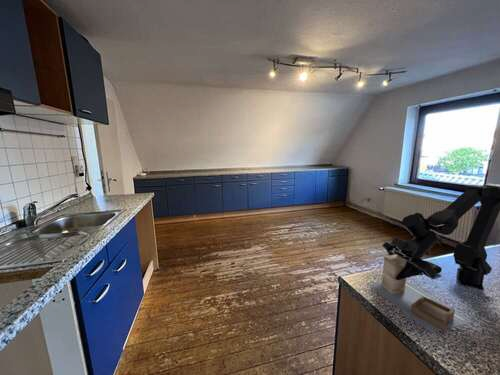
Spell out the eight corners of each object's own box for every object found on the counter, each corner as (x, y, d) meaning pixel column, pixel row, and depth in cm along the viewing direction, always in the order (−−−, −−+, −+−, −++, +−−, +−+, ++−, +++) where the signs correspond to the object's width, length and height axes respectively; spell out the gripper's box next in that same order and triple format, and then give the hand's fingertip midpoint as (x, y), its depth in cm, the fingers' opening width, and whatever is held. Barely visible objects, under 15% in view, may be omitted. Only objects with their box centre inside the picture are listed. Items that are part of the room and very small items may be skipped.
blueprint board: (401, 280, 89) (401, 277, 89) (473, 324, 66) (474, 321, 66) (367, 286, 85) (367, 283, 85) (431, 335, 62) (431, 332, 62)
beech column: (393, 284, 84) (396, 254, 82) (404, 292, 80) (407, 261, 78) (381, 285, 84) (384, 255, 82) (391, 293, 79) (394, 262, 77)
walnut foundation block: (422, 303, 74) (423, 295, 73) (453, 318, 67) (454, 310, 67) (410, 312, 70) (411, 304, 69) (442, 329, 63) (444, 321, 62)
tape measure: (442, 274, 93) (443, 266, 92) (430, 277, 91) (431, 269, 90) (425, 267, 99) (425, 259, 99) (413, 269, 97) (414, 261, 96)
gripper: (388, 221, 88) (360, 250, 88) (432, 240, 70) (397, 275, 70) (404, 239, 90) (377, 267, 90) (451, 261, 72) (417, 296, 72)
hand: (390, 275), depth 81 cm, fingers closed on beech column, 5 cm apart
